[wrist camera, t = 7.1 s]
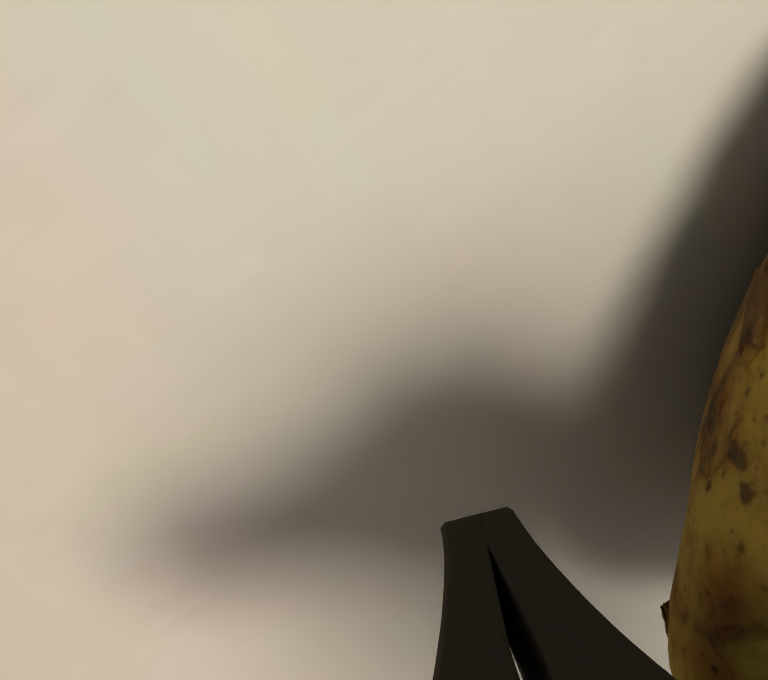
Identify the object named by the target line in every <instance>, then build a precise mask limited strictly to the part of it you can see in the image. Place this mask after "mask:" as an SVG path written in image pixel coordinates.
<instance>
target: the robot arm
mask: <svg viewBox="0 0 768 680" xmlns="http://www.w3.org/2000/svg"><path fill="white" fill-rule="evenodd" d="M441 533H442V538H443V547H444V592H443V606H442V619H441V628H440V635H439V642H438V649H437V656H436V663H435V669H434V675H433V680H520V678H519V675H518V672H517V669H516V666H515V663H514V660H513V657H512V653H513V656H514V658H515V661H516V663H517V666H518V668H519V671H520V673H521V675H522V678H523V680H677V679H676V678H674V677H673V676H672V675H671V674H669V673H668V672H667V671H666V670H664V669H663V668H662V667H661V666H659V665H658V664H657V663H656V662H654V661H653V660H652V659H651V658H650V657H649V656H647V655H646V654H645V653H644V652H643V651H641V650H640V649H639V648H638V647H637V646H636V645H634V644H633V643H632V642H631V641H630V640H629V639H628V638H627V637H625V636H624V635H623V634H622V633H621V632H620V631H619V630H618V629H617V628H616V627H614V626H613V625H612V624H611V623H610V622H609V621H608V620H607V619H606V618H605V617H604V616H603V615H602V614H601V613H600V612H599V611H598V610H597V609H596V608H595V607H594V606H593V605H592V604H591V603H590V602H589V601H588V600H587V599H586V598H585V597H584V596H583V595H582V594H581V593H580V592H579V591H578V590H577V589H576V588H575V587H574V586H573V585H572V584H571V582H570V581H569V580H568V579H567V578H566V577H565V576H564V575H563V574H562V573H561V572H560V571H559V569H558V568H557V567H556V566H555V565H554V564H553V563H552V562H551V560H550V559H549V558H548V557H547V556H546V554H545V553H544V552H543V551H542V550H541V548H540V547H539V546H538V545H537V543H536V542H535V541H534V540H533V538H532V537H531V536H530V534H529V533H528V532H527V530H526V529H525V528H524V526H523V525H522V523H521V522H520V521H519V519H518V518H517V516H516V515H515V513H514V511H513V510H512V509H510V508H508V507H504V508H500V509H496V510H492V511H488V512H484V513H480V514H476V515H472V516H468V517H464V518H460V519H456V520H452V521H448V522H445V523H444V524H443V526H442V527H441ZM510 648H511V650H510ZM511 651H512V653H511Z"/></svg>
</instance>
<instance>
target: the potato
mask: <svg viewBox="0 0 768 680" xmlns="http://www.w3.org/2000/svg"><path fill="white" fill-rule="evenodd" d="M660 608H661V610H662V617H663V619H664V622H665V629H666V633H667V637H668V653H669V665H670V669H671V673H672V676H673V677H674V678H676V679H677V680H768V254H767V255H766V257H765V259H764V261H763V262H762V264H761V266H760V267H757V268H756V269H755V270H754V274H753V278H752V282H751V284H750V286H749V288H748V290H747V292H746V294H745V296H744V298H743V300H742V303H741V305H740V308H739V310H738V312H737V315H736V317H735V320H734V322H733V324H732V327H731V329H730V332H729V334H728V337H727V339H726V341H725V344H724V346H723V349H722V351H721V355H720V358H719V362H718V366H717V368H716V370H715V372H714V377H713V381H712V384H711V387H710V389H709V393H708V397H707V401H706V405H705V409H704V414H703V418H702V422H701V426H700V430H699V434H698V439H697V445H696V450H695V456H694V463H693V470H692V476H691V483H690V491H689V498H688V505H687V511H686V517H685V523H684V528H683V533H682V537H681V542H680V547H679V552H678V559H677V564H676V569H675V574H674V579H673V584H672V590H671V595H670V600H668V601H667V602H666V603H663V605H661V607H660Z"/></svg>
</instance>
